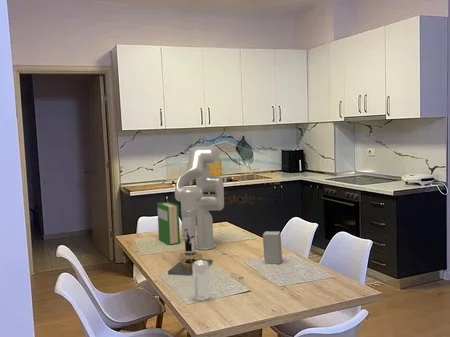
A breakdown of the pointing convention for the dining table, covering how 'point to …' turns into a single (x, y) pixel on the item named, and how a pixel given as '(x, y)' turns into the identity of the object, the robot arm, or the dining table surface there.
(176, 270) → the collar stand
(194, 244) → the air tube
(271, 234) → the skincare box
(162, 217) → the hardback book
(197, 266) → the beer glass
